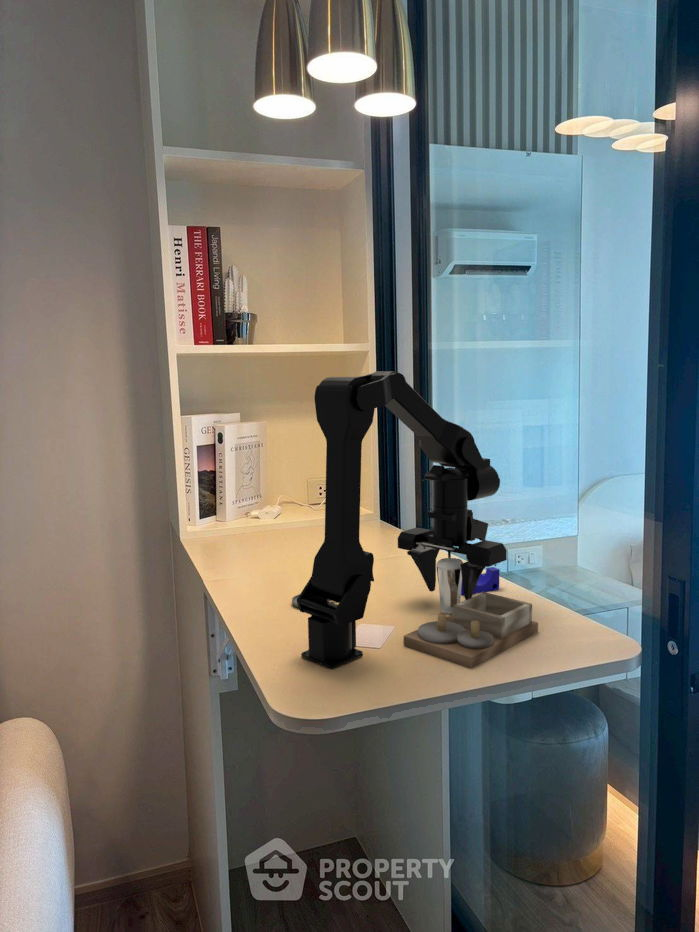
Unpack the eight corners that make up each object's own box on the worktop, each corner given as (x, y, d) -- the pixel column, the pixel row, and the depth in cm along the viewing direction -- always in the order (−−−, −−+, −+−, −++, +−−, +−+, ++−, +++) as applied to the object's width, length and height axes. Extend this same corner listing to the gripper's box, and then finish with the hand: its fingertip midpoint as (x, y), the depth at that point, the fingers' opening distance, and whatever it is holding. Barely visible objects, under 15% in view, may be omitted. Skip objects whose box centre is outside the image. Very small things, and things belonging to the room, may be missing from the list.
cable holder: (488, 585, 134) (488, 564, 133) (499, 590, 131) (499, 569, 130) (451, 591, 131) (451, 570, 130) (461, 596, 128) (461, 575, 127)
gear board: (471, 668, 97) (471, 636, 96) (403, 645, 105) (403, 616, 105) (537, 631, 110) (538, 603, 109) (473, 613, 118) (473, 587, 117)
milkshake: (462, 604, 123) (462, 548, 121) (464, 615, 117) (464, 557, 116) (436, 604, 123) (436, 548, 122) (436, 615, 118) (436, 556, 116)
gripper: (525, 504, 117) (523, 595, 119) (434, 491, 130) (434, 574, 132) (487, 515, 109) (486, 612, 111) (395, 500, 122) (395, 588, 124)
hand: (449, 595), depth 120 cm, fingers open, 7 cm apart
